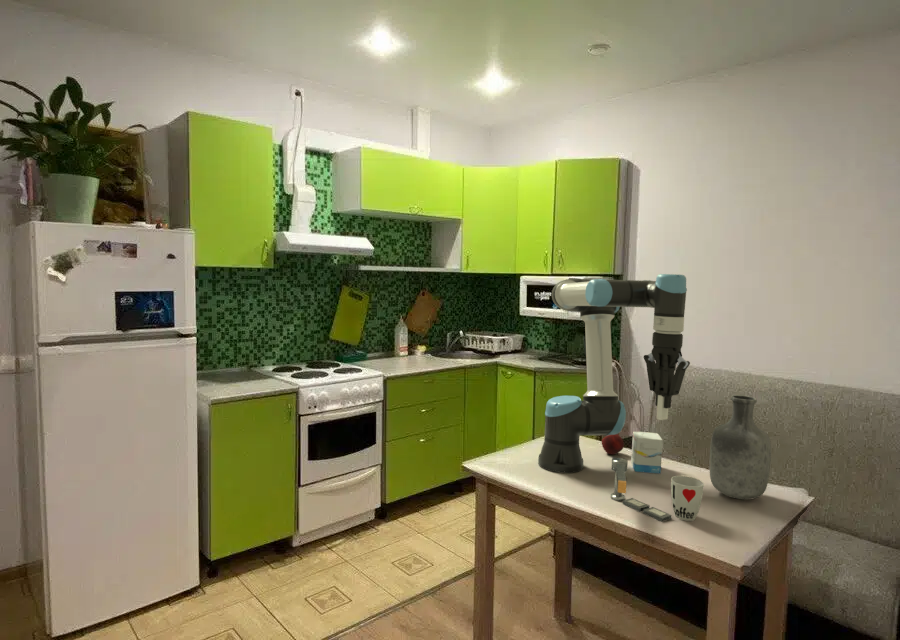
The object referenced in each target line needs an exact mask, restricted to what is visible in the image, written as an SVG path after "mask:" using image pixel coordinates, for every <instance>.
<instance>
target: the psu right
mask: <svg viewBox="0 0 900 640" xmlns="http://www.w3.org/2000/svg"><path fill="white" fill-rule="evenodd" d="M642 514H644V515H646V516H648V517H650V518H653V519H655V520H657V521H659V522H665V521H669V520H672V514H670V513H667V512H665V511H663V510H661V509H658V508H656V507H654V506H651V507H650V508H647V509H644V510H643V511H642Z"/></svg>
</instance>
